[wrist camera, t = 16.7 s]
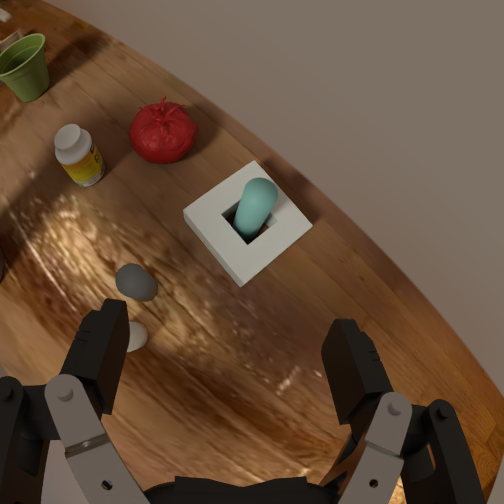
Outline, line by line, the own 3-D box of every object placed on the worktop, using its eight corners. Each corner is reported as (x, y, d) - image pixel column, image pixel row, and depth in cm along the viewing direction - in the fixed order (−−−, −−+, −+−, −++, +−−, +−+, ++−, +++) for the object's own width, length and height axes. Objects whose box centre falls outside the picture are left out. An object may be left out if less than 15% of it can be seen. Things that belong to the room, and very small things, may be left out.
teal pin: (243, 245, 42) (259, 216, 30) (226, 225, 42) (236, 189, 31) (263, 229, 43) (285, 196, 31) (246, 210, 43) (262, 171, 31)
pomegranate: (177, 182, 42) (173, 148, 33) (122, 158, 42) (108, 123, 33) (208, 132, 45) (211, 94, 36) (155, 112, 45) (149, 74, 36)
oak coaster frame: (-17, 101, 39) (-24, 93, 36) (-23, 72, 41) (-28, 64, 37) (35, 60, 44) (30, 50, 40) (23, 37, 45) (19, 28, 41)
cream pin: (133, 353, 36) (124, 357, 31) (116, 332, 36) (105, 333, 32) (153, 337, 37) (146, 339, 32) (136, 316, 37) (127, 315, 33)
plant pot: (66, 86, 43) (50, 47, 32) (17, 121, 40) (-7, 86, 29) (53, 61, 44) (39, 25, 33) (9, 92, 41) (-11, 59, 30)
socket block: (240, 287, 40) (244, 284, 37) (184, 220, 41) (182, 209, 37) (303, 234, 44) (313, 225, 40) (249, 173, 44) (254, 160, 41)
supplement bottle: (110, 177, 41) (90, 140, 31) (79, 194, 39) (52, 162, 30) (100, 150, 42) (81, 111, 32) (70, 166, 40) (45, 132, 30)
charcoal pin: (142, 307, 38) (128, 303, 30) (126, 285, 38) (109, 277, 30) (163, 290, 39) (153, 282, 31) (146, 269, 39) (134, 256, 31)
